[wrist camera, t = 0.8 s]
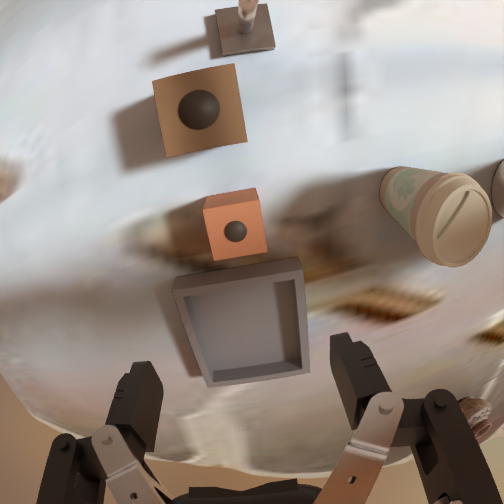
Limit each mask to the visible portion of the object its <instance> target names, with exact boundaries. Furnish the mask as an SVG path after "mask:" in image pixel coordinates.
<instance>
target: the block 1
mask: <svg viewBox="0 0 504 504" xmlns="http://www.w3.org/2000/svg"><path fill="white" fill-rule="evenodd" d="M152 84H153V90H154V96H155V101H156V107H157V112H158V118H159V123H160V128H161V133H162V138H163V143H164V148H165V153H166V158H168V157H172V156H176V155H181V154H185V153H190V152H195V151H200V150H205V149H210V148H215V147H220V146H226V145H232V144H238V143H244V142H248V141H247V135H246V129H245V123H244V117H243V111H242V105H241V99H240V93H239V88H238V82H237V76H236V70H235V64H234V63H233V64H227V65H221V66H215V67H210V68H205V69H200V70H195V71H191V72H186V73H182V74H177V75H173V76H169V77H165V78H162V79H158V80H154V81H152Z"/></svg>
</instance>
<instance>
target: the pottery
mask: <svg viewBox="0 0 504 504" xmlns="http://www.w3.org/2000/svg"><path fill="white" fill-rule="evenodd" d="M459 406H460V408H461V409H462V411H463V413H464V415H465V417H466V419H467V421H468V423H469V425H470V427H471V429H472V431H473V434H474V436H475V438H476V439H478V438H479V437H481V436H482V435H483V434H484V433H486V432H487V431H488V430H489V428H490V427H491V423H490V422H489V421H488V420H487V418H488V416H489V414H490V411H491V409H492V405H491V404H490V403H489V402H487V401H485V400H483V399H474V398H473V396H469V397H467V398H465V399H464V400H462V401H461V402H460V403H459Z"/></svg>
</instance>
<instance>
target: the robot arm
mask: <svg viewBox="0 0 504 504" xmlns="http://www.w3.org/2000/svg"><path fill="white" fill-rule="evenodd" d="M492 202H493V206H494V208H495V211H496V212H497V213H498V215H500V216H502V217H504V161H502V163H501V164H500V165H499V167H498V168H497V170H496V173H495V176H494V179H493V184H492ZM330 365H331V370H332V373H333V376H334V379H335V382H336V385H337V388H338V391H339V393H340V396H341V399H342V402H343V405H344V408H345V411H346V414H347V417H348V420H349V423H350V426H351V429H352V430H354V429H357V430H356V432H355V434H354V436H353V438H352V440H351V442H350V443H348V445H347V446H346V448H345V450H344V451H343V453H342V455H341V457H340V459H339V461H338V463H337V464H336V466H335V468H334V470H333V472H332V473H331V475H330V477H329V479H328V480H327V482H326V484H325V485H324V487H323V489H321V488H319V487H316V486H311V485H306V484H298V483H297V478H296V479H290V480H284V481H277V482H270V483H267V484H264V485H261V486H258V487H255V488H252V489H248V490H245V491H236V490H229V489H223V488H218V487H189V493H187V494H184V495H181V496H179V497H176V498H174V497H173V496H172V495H171V494H170V493H169V492H168V491H167V490H166V489H165V487H164V486H163V485H162V483H161V482H160V481H159V479H158V478H157V476H156V475H155V473H154V472H153V471H152V469H151V468H150V466H149V465H148V463H147V462H146V460H145V459H144V454H145V452H154V446H155V440H156V434H157V428H158V422H159V416H160V411H161V405H162V400H163V385H162V383H161V381H160V379H159V377H158V375H157V373H156V371H155V369H154V367H153V365H152V363H151V362H150V361H143V362H134V363H133V364H132V367H131V370H130V373H125V374H124V376H123V377H122V378H121V379H120V381H119V382H118V385H117V388H116V392H115V394H114V399H113V401H112V404H111V407H110V410H109V413H108V417H107V420H106V423H105V425H103V426H101V427H99V428H98V429H96V430H95V431H94V433H93V435H92V436H91V437H87V438H82V439H77V440H76V439H75V438H74V437H73V436H72V435H71V434H68V433H64V434H60V435H59V436H57V437H56V438H55V439H54V441H53V443H52V446H51V449H50V452H49V456H48V459H47V463H46V467H45V470H44V474H43V478H42V482H41V486H40V490H39V494H38V499H37V503H36V504H103V502H104V494H105V487H106V484H107V486H108V487H109V489H110V491H111V493H112V495H113V497H114V499H115V500H116V502H117V504H365V502H366V500H367V498H368V496H369V494H370V492H371V490H372V488H373V486H374V484H375V482H376V480H377V478H378V475H379V473H380V471H381V469H382V466H383V464H384V462H385V459H386V457H387V454H388V451H389V448H390V447H399V446H410V447H411V450H412V453H413V456H414V458H415V461H416V464H417V467H418V470H419V474H420V477H421V480H422V483H423V486H424V489H425V493H426V496H427V499H428V503H429V504H503V503H502V500H501V497H500V494H499V492H498V489H497V486H496V484H495V481H494V479H493V476H492V474H491V472H490V469H489V467H488V465H487V462H486V460H485V458H484V455H483V453H482V451H481V449H480V446H479V444H478V442H477V440H476V438H475V436H474V434H473V431H472V429H471V427H470V425H469V423H468V421H467V419H466V417H465V415H464V413H463V411H462V409H461V408H460V406H459V404H458V402H457V400H456V398H455V396H454V395H453V394H452V393H451V392H449V391H448V390H445V389H436V390H433V391H431V392H429V393H428V394H427V396H426V397H425V398H424V399H403V398H401V397H400V396H398V395H397V394H395V393H393V392H392V391H391V389H390V387H389V385H388V383H387V381H386V379H385V377H384V375H383V373H382V371H381V369H380V367H379V366H378V365H377V362H376V360H375V358H374V356H373V354H372V352H371V350H370V348H369V347H368V346H367V345H365V344H364V343H363V342H362V341H357V342H352V340H351V338H350V336H349V334H348V332H345V333H340V334H336V335H331V336H330ZM76 478H77V479H76ZM75 483H76V484H75Z"/></svg>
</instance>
